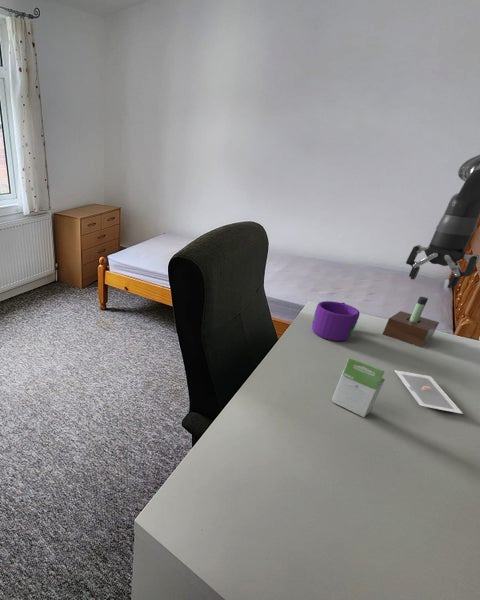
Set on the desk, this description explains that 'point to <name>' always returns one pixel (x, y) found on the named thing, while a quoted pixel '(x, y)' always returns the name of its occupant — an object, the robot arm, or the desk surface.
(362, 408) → the ink box
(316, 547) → the desk surface
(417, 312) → the marker
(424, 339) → the pen stand
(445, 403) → the touchpad
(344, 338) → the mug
